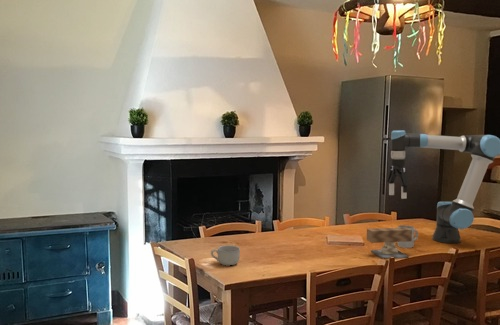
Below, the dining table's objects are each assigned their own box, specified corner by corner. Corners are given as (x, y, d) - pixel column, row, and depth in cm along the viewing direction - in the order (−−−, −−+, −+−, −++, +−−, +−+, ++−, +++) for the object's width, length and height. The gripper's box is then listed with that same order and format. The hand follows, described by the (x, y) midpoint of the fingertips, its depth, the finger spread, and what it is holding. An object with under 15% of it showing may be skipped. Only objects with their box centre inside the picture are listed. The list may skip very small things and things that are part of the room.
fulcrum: (395, 250, 254) (396, 237, 254) (408, 258, 241) (409, 243, 240) (371, 251, 252) (371, 237, 251) (382, 259, 238) (383, 244, 238)
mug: (403, 248, 259) (404, 228, 258) (394, 244, 267) (394, 225, 267) (422, 247, 263) (422, 227, 262) (412, 243, 271) (412, 224, 270)
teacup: (239, 261, 233) (239, 245, 233) (240, 267, 223) (240, 250, 222) (211, 261, 233) (211, 245, 232) (210, 267, 222) (210, 250, 221)
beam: (405, 238, 250) (406, 227, 250) (411, 241, 245) (412, 229, 244) (366, 240, 247) (366, 228, 246) (371, 242, 241) (371, 231, 240)
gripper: (381, 157, 273) (380, 193, 274) (403, 160, 248) (402, 200, 250) (393, 156, 274) (392, 193, 276) (416, 159, 250) (415, 199, 252)
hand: (397, 196), depth 263 cm, fingers open, 13 cm apart
